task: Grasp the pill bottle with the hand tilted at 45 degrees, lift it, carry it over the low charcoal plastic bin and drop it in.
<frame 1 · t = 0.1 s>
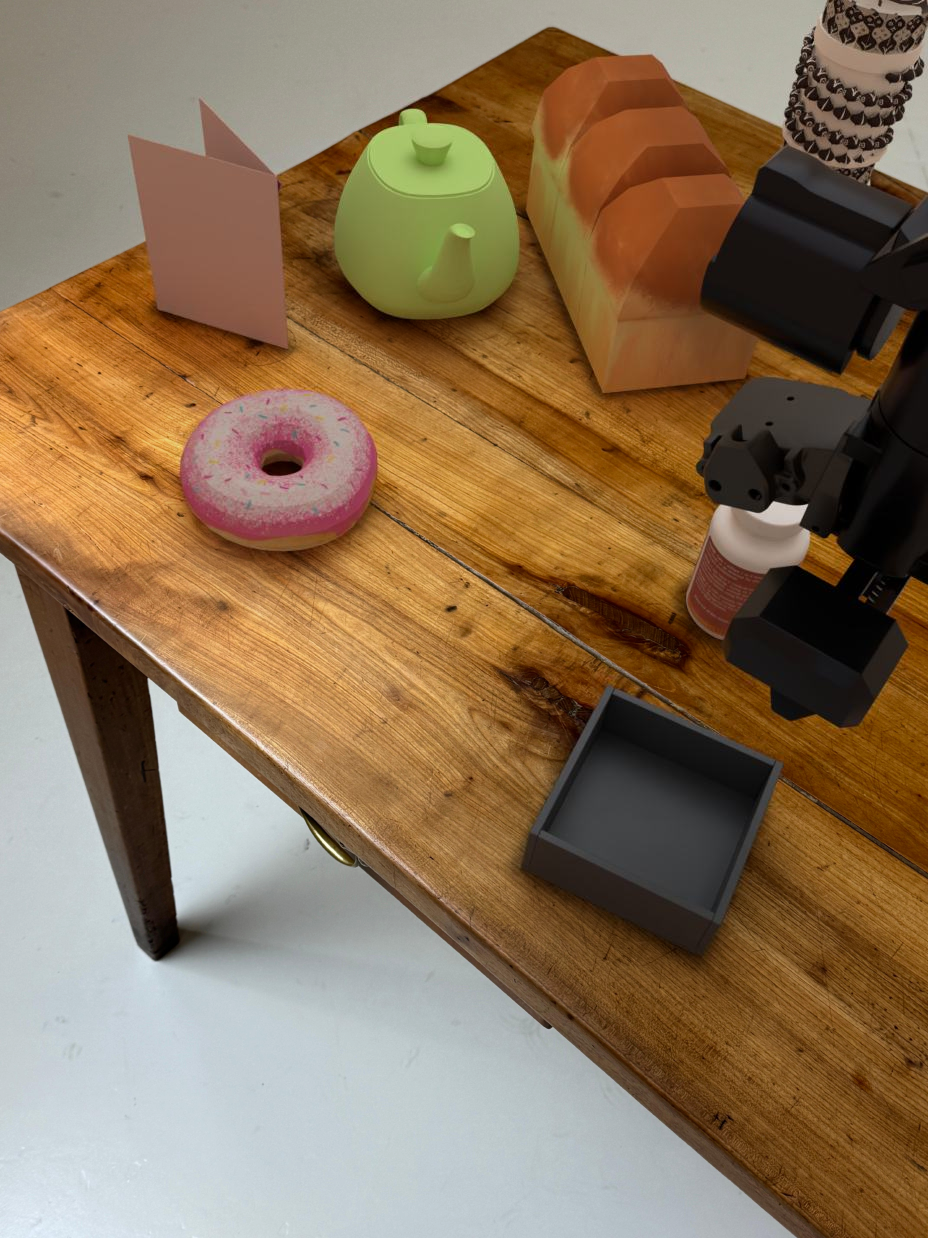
hand: (824, 651, 57), 16 cm above the table, tool pointing down, fingers open, 9 cm apart
bin: (645, 833, 69), on the table
donut: (282, 494, 83), on the table
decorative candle: (791, 262, 103), on the table
pill bottle: (728, 610, 79), on the table
teapot: (427, 289, 98), on the table
bread: (628, 291, 99), on the table
greeting card: (221, 321, 94), on the table
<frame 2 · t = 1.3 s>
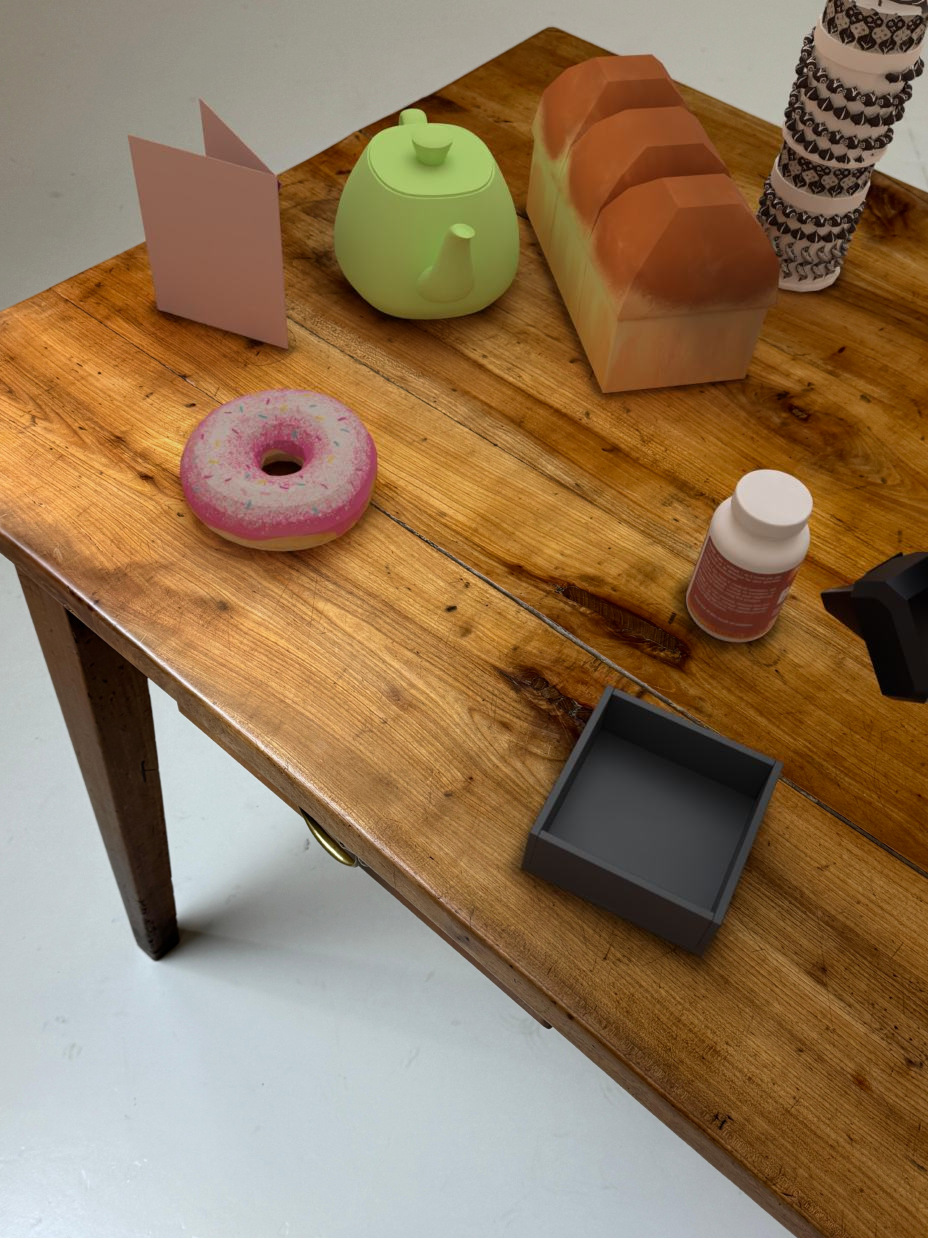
hand: (882, 565, 65), 13 cm above the table, tool tilted 45°, fingers open, 9 cm apart
nothing on the table moved.
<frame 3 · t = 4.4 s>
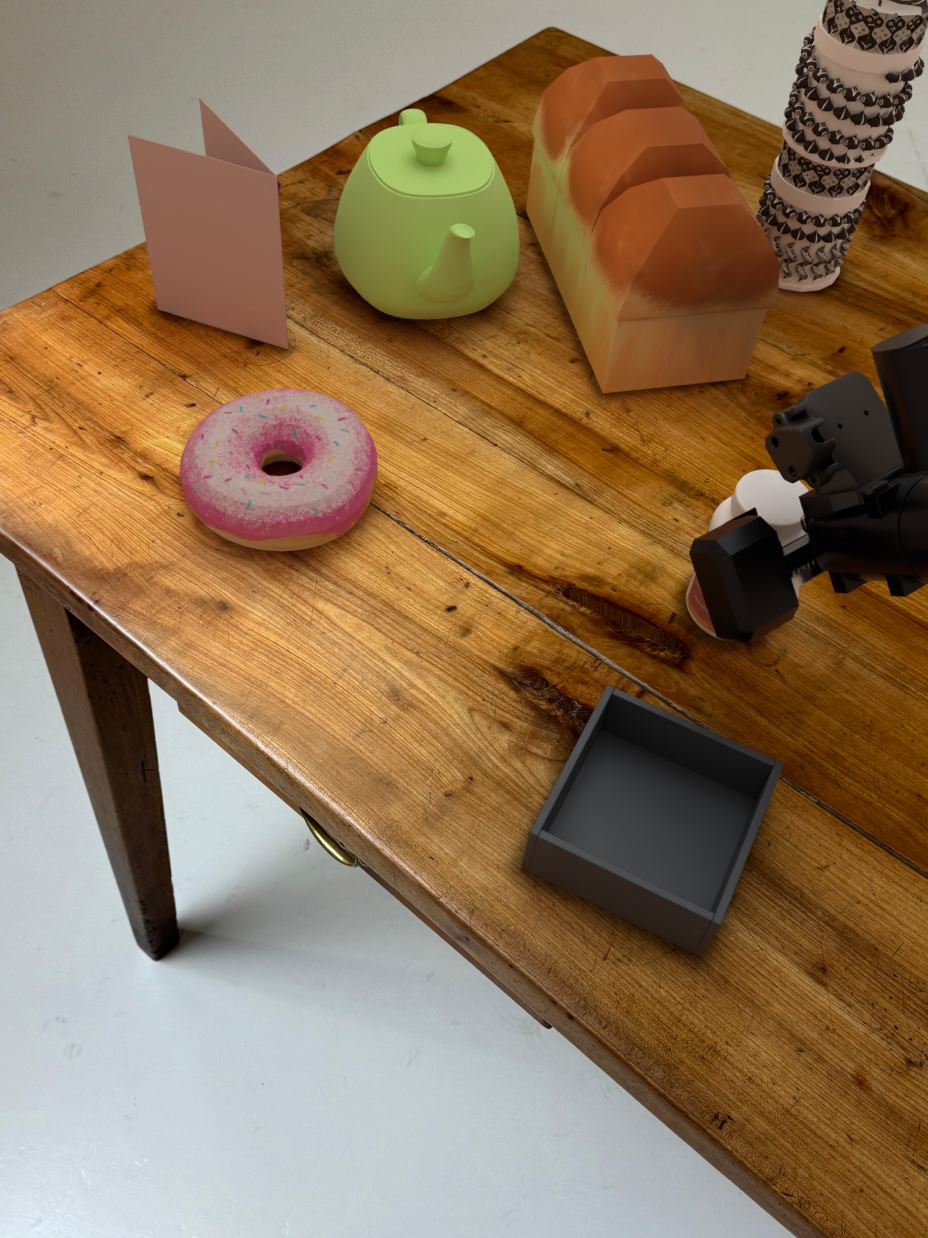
hand: (740, 530, 75), 7 cm above the table, tool tilted 45°, fingers closed on pill bottle, 6 cm apart
pill bottle: (728, 610, 79), on the table, touching gripper
everything else where it was.
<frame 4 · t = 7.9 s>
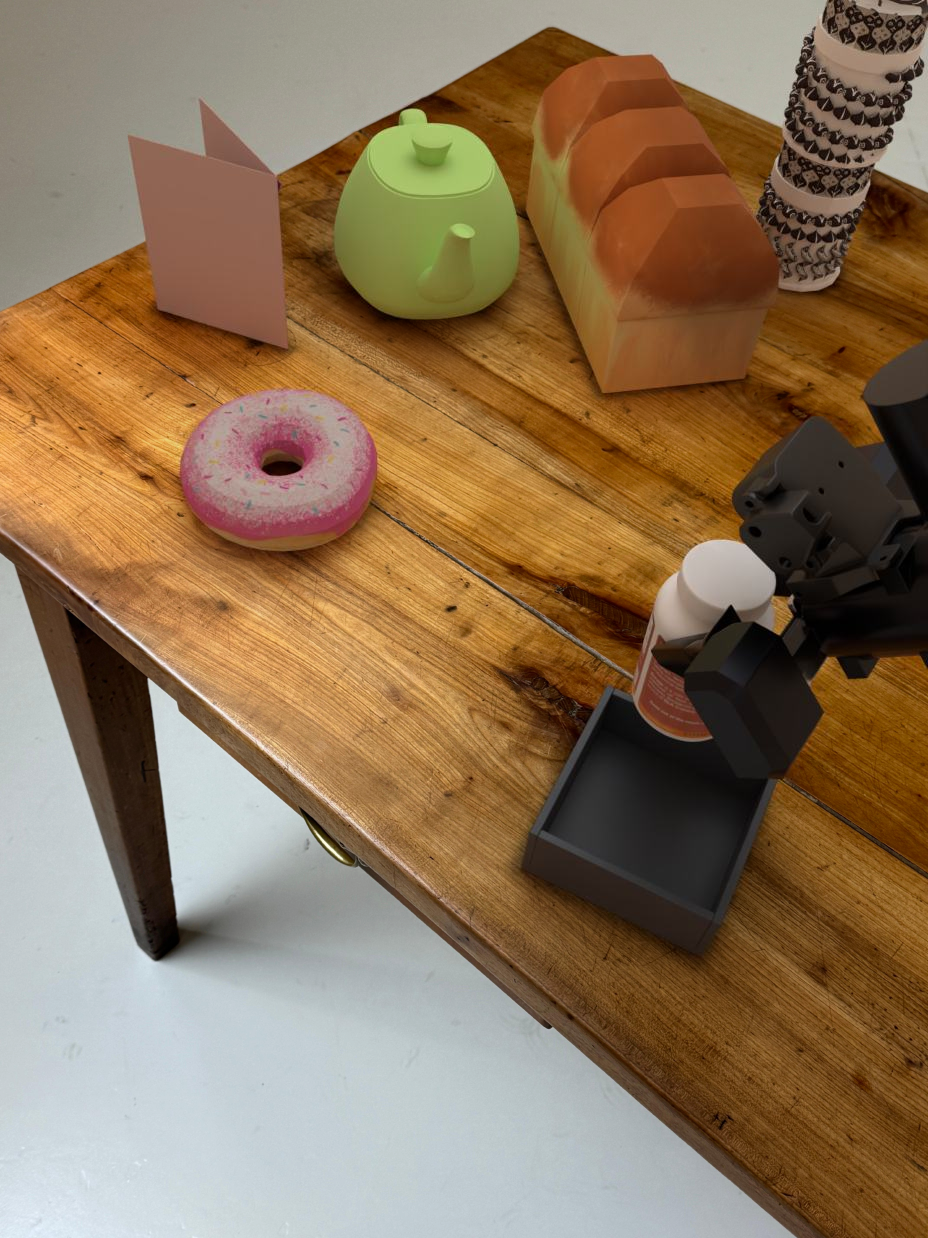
hand: (686, 615, 62), 13 cm above the table, tool tilted 45°, fingers closed on pill bottle, 6 cm apart
pill bottle: (683, 700, 67), point 6 cm above the table, touching gripper
everything else where it was.
when the fingers open (7 cm above the table, at t = 11.3 s): pill bottle stays where it is, resting on bin.
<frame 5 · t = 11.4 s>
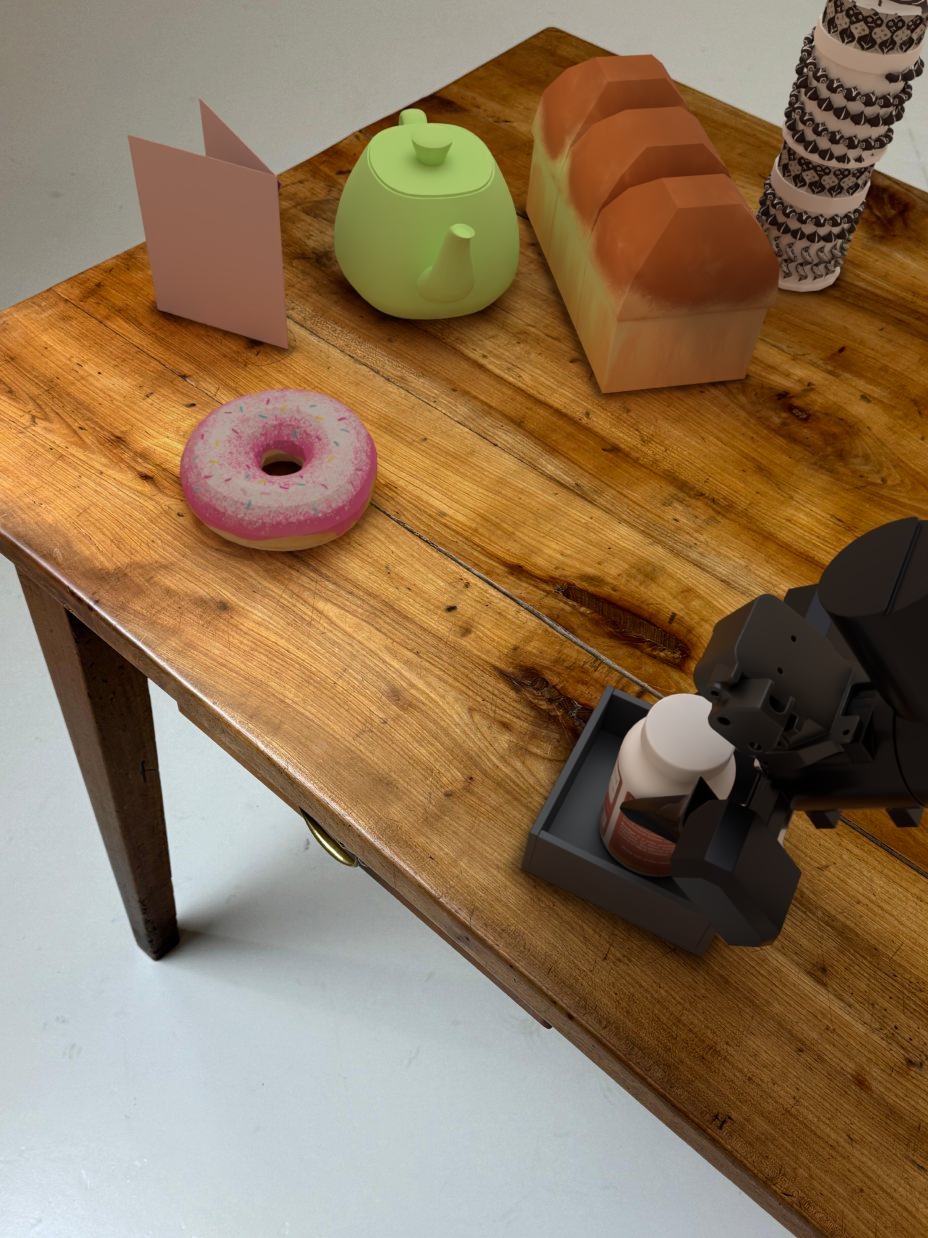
hand: (647, 762, 63), 7 cm above the table, tool tilted 45°, fingers open, 6 cm apart
pill bottle: (648, 832, 68), resting on bin
everything else where it was.
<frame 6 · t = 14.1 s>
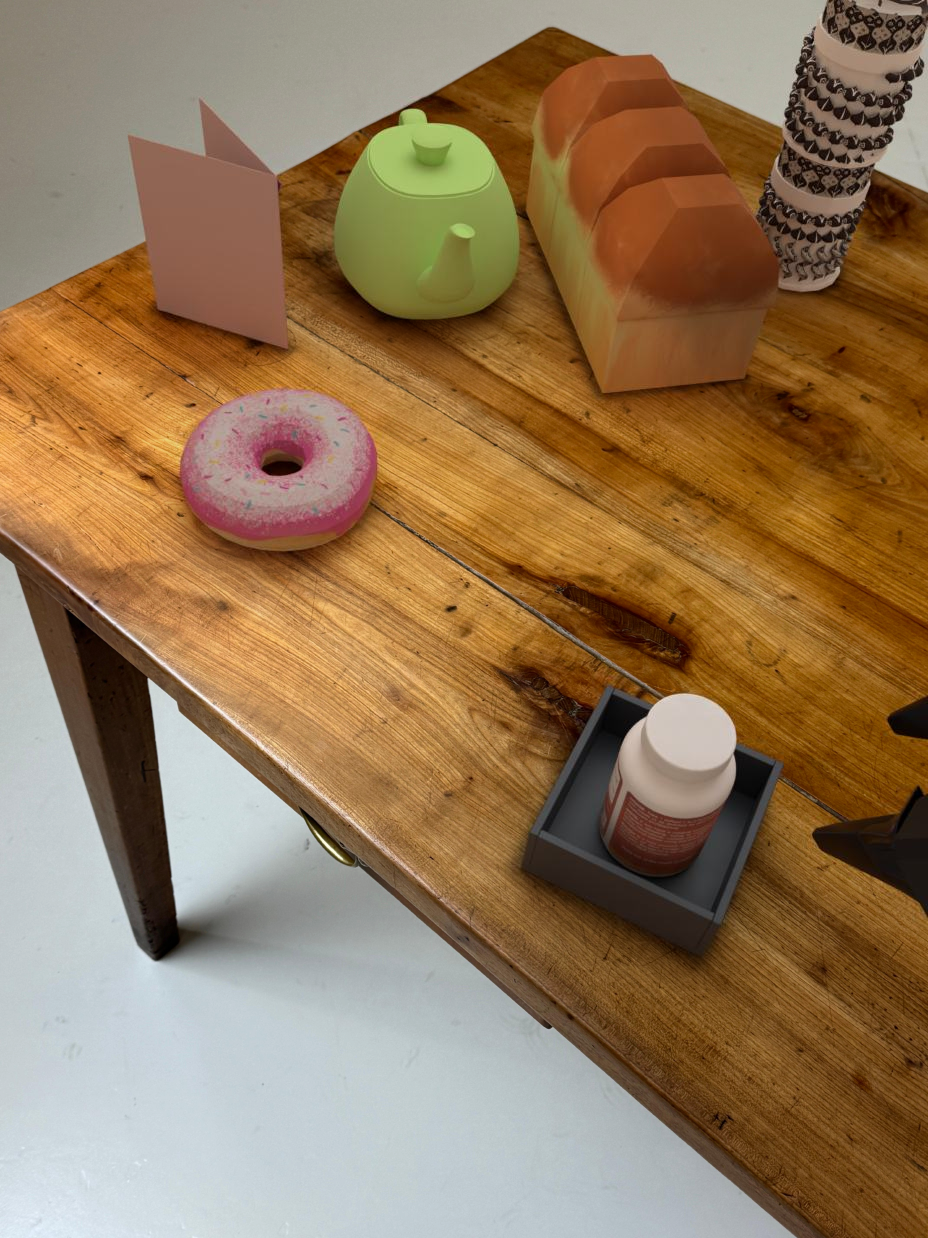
hand: (855, 779, 58), 12 cm above the table, tool tilted 40°, fingers open, 9 cm apart
nothing on the table moved.
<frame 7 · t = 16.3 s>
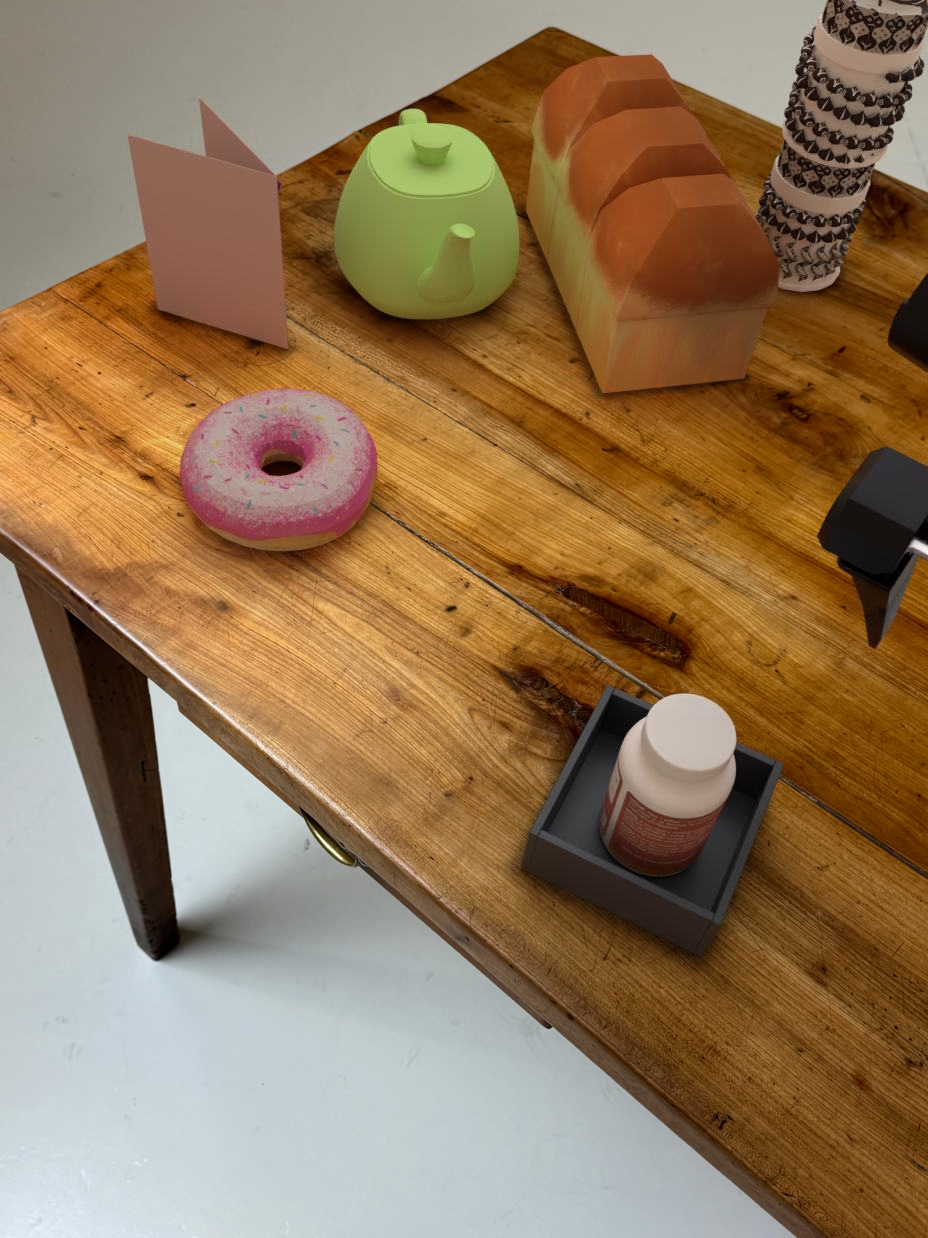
nothing on the table moved.
at the end: pill bottle inside the target area in the bin (0.2 cm from its centre), point 0.3 cm above the bin's base; the gripper is holding nothing; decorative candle moved 0.2 cm from its start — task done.
